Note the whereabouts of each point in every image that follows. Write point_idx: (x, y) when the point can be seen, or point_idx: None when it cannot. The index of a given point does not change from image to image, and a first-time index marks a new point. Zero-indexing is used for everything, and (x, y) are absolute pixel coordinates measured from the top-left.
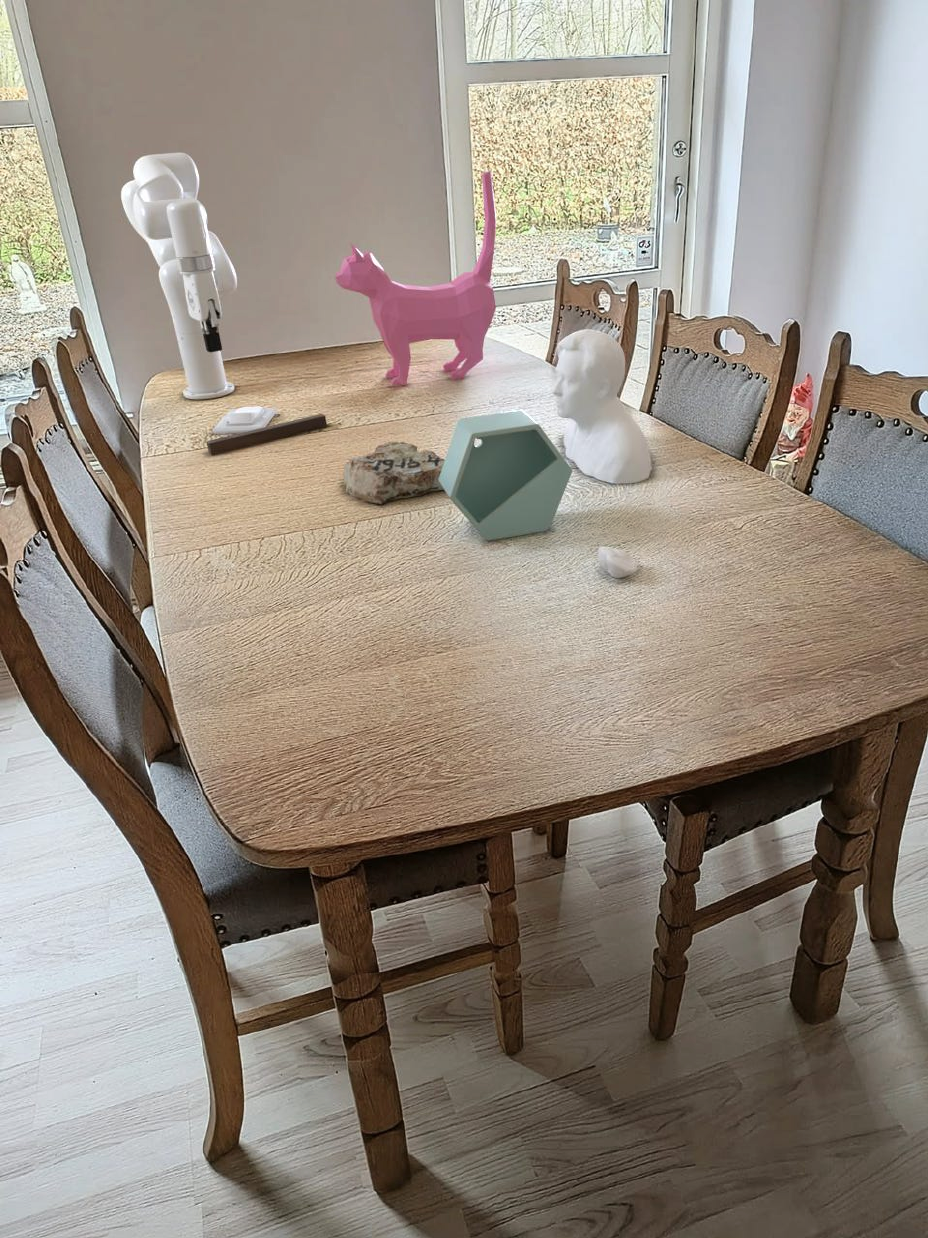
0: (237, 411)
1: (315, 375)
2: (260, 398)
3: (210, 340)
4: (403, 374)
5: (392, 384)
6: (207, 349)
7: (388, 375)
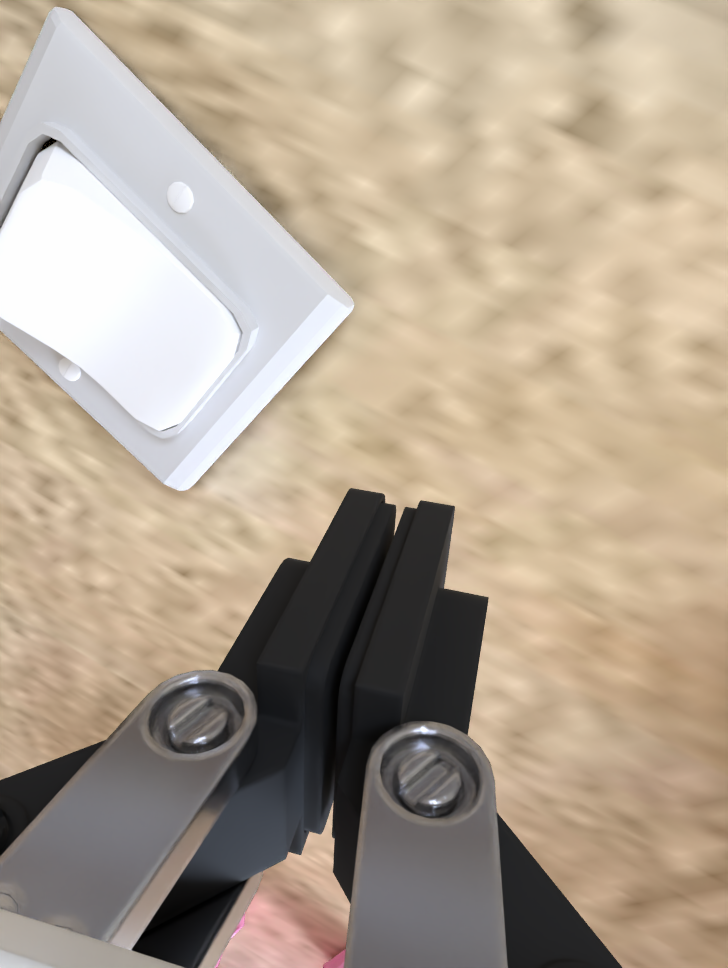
0: (171, 284)
1: (691, 922)
2: (572, 588)
3: (257, 623)
4: None
5: None
6: (410, 514)
7: (340, 959)
